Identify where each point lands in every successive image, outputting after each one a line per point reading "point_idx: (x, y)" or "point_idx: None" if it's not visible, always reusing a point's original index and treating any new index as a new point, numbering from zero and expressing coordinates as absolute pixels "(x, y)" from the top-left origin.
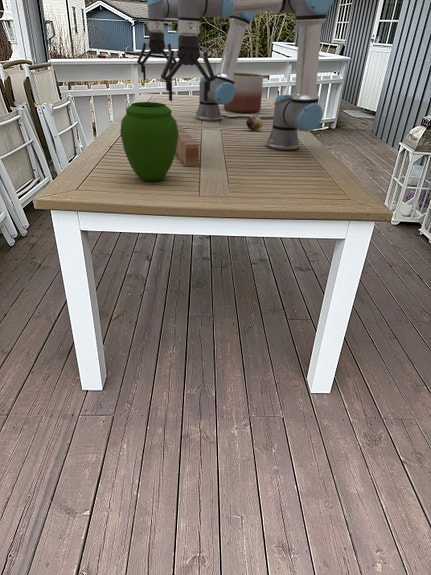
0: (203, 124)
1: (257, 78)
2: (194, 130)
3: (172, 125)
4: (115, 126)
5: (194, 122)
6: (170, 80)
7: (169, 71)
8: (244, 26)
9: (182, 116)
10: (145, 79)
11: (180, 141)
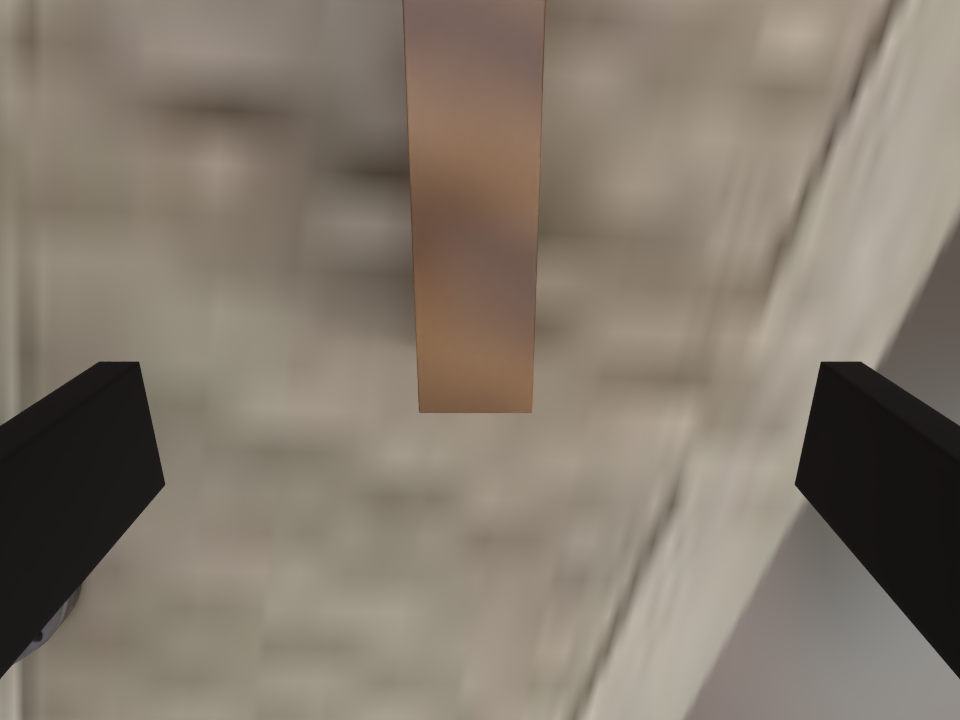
0: (11, 319)
1: None
2: (114, 3)
3: None
4: (902, 265)
5: None
6: (137, 362)
7: (31, 623)
8: None
9: (203, 655)
10: (834, 366)
11: None
